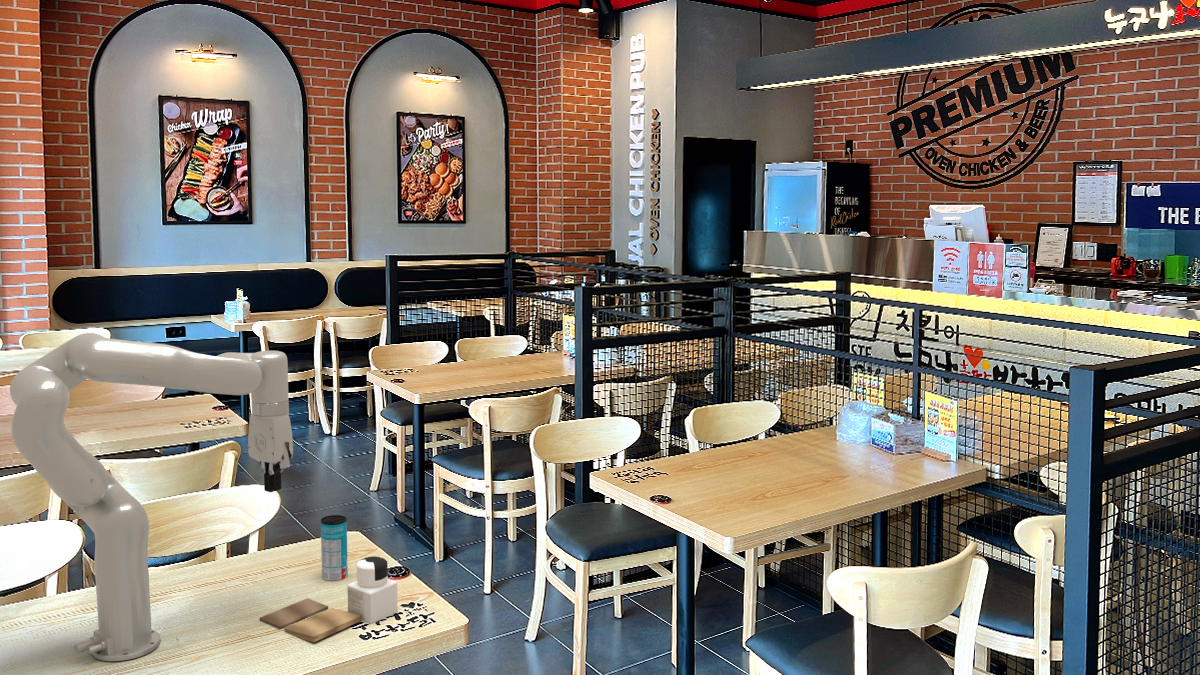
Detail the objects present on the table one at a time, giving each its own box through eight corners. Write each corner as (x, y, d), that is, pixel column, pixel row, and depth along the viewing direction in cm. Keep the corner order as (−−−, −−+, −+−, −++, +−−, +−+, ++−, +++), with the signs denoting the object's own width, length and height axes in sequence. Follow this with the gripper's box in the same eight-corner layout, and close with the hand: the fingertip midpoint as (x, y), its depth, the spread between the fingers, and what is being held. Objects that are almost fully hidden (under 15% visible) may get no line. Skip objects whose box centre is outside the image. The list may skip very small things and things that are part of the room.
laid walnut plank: (315, 648, 196) (315, 642, 196) (259, 623, 207) (259, 617, 206) (364, 626, 207) (363, 620, 206) (308, 603, 217) (307, 597, 217)
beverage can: (352, 579, 231) (351, 519, 229) (331, 586, 226) (330, 525, 224) (338, 572, 235) (337, 513, 232) (317, 579, 230) (315, 519, 228)
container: (374, 605, 217) (373, 550, 215) (398, 615, 212) (397, 558, 210) (347, 617, 211) (346, 561, 209) (371, 627, 206) (370, 569, 204)
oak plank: (314, 642, 196) (313, 637, 196) (284, 633, 202) (284, 628, 202) (362, 620, 207) (361, 615, 206) (332, 612, 212) (332, 607, 212)
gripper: (234, 406, 209) (237, 487, 212) (277, 416, 201) (280, 501, 203) (263, 400, 215) (266, 479, 218) (307, 410, 207) (309, 492, 209)
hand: (273, 490), depth 211 cm, fingers closed
